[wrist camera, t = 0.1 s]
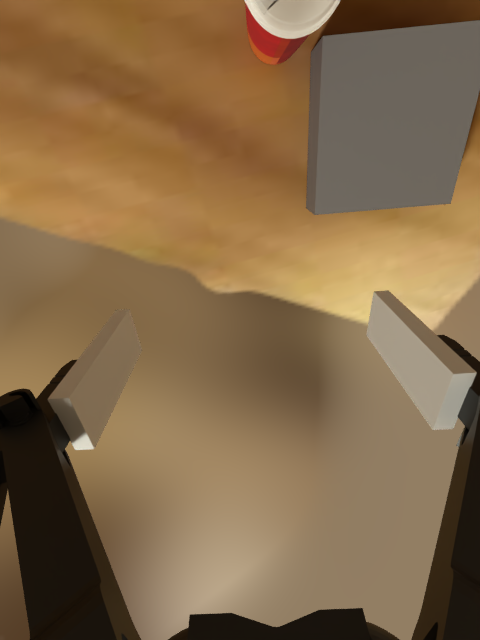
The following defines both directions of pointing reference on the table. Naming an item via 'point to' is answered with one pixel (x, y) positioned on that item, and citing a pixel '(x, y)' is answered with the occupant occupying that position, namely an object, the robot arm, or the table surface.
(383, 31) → the base block
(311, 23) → the paper cup
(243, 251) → the table surface
